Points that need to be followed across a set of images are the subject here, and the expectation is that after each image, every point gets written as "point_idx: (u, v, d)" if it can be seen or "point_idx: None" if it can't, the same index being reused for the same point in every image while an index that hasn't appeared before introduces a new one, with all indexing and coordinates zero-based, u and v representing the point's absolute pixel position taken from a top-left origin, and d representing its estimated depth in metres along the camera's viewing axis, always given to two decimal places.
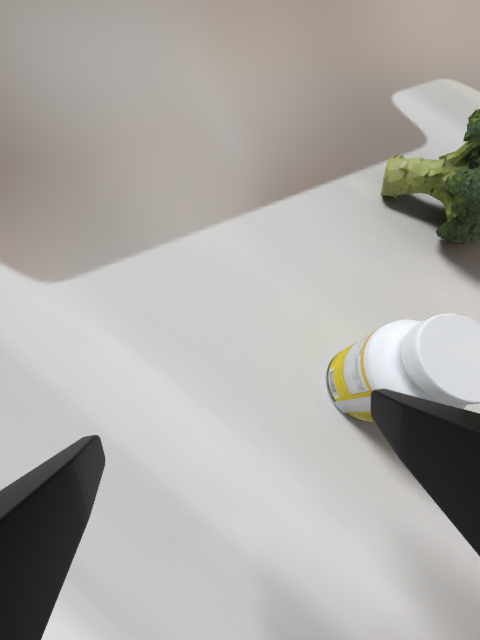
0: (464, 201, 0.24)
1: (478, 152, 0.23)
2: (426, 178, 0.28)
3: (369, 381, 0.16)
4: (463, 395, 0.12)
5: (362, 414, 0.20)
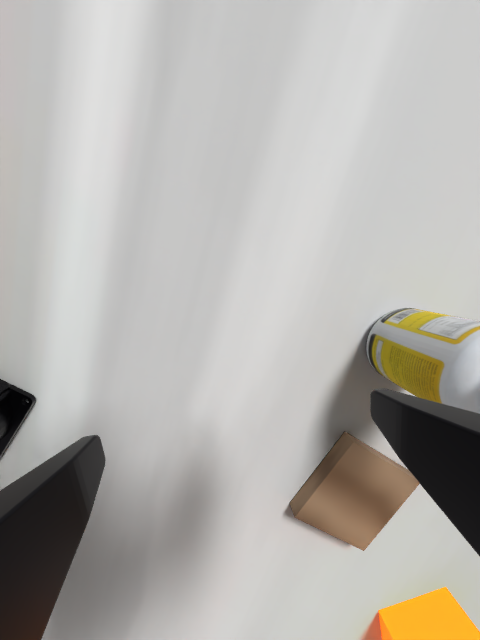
0: None
1: None
2: None
3: (471, 336, 0.15)
4: None
5: (393, 346, 0.19)
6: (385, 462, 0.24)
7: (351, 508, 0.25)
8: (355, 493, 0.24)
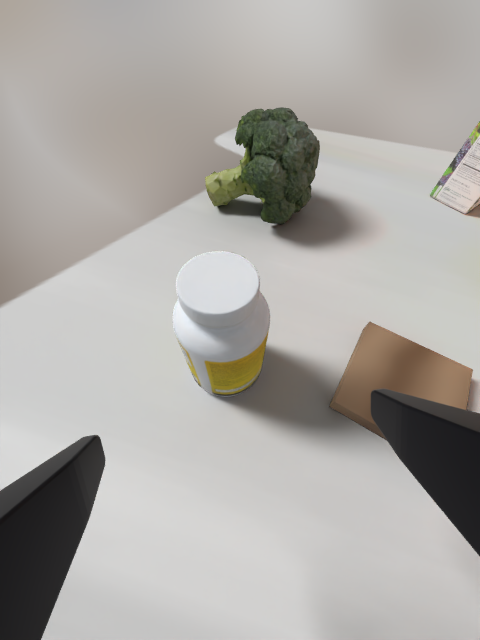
0: (256, 185, 0.28)
1: (250, 149, 0.29)
2: (235, 181, 0.33)
3: (179, 341, 0.16)
4: (218, 310, 0.13)
5: (213, 384, 0.19)
6: (353, 361, 0.23)
7: (420, 392, 0.21)
8: (399, 390, 0.21)
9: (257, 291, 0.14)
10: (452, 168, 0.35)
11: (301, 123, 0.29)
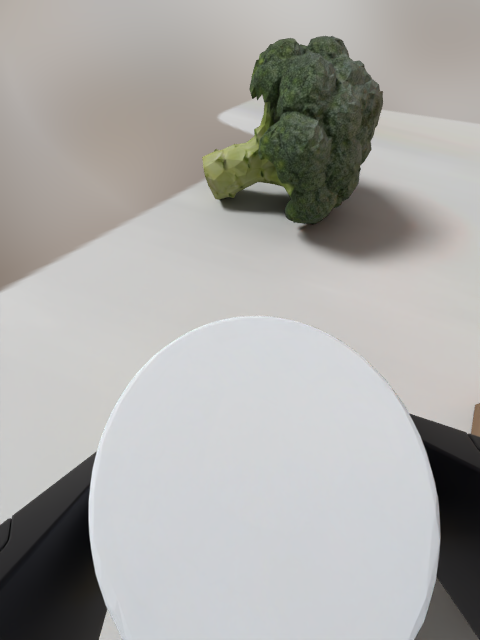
0: (285, 163, 0.18)
1: (274, 105, 0.18)
2: (246, 161, 0.22)
3: None
4: None
5: None
6: None
7: None
8: None
9: (437, 520, 0.03)
10: None
11: (355, 63, 0.18)
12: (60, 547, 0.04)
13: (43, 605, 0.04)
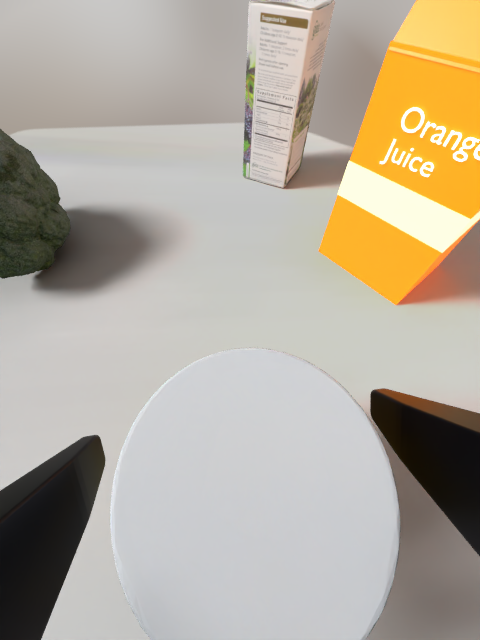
0: None
1: None
2: None
3: None
4: None
5: None
6: None
7: None
8: None
9: (398, 529, 0.04)
10: (248, 140, 0.29)
11: None
12: None
13: None
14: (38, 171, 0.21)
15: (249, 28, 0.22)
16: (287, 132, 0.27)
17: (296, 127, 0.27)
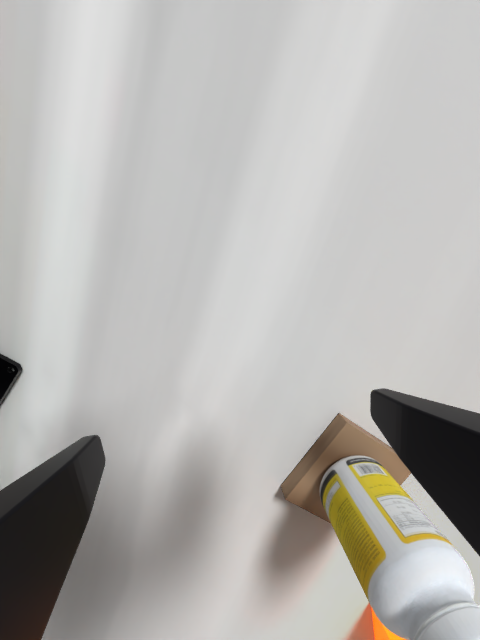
0: None
1: None
2: None
3: (419, 542, 0.16)
4: None
5: (347, 498, 0.20)
6: (379, 445, 0.24)
7: None
8: None
9: None
10: None
11: None
12: None
13: None
14: None
15: None
16: None
17: None
